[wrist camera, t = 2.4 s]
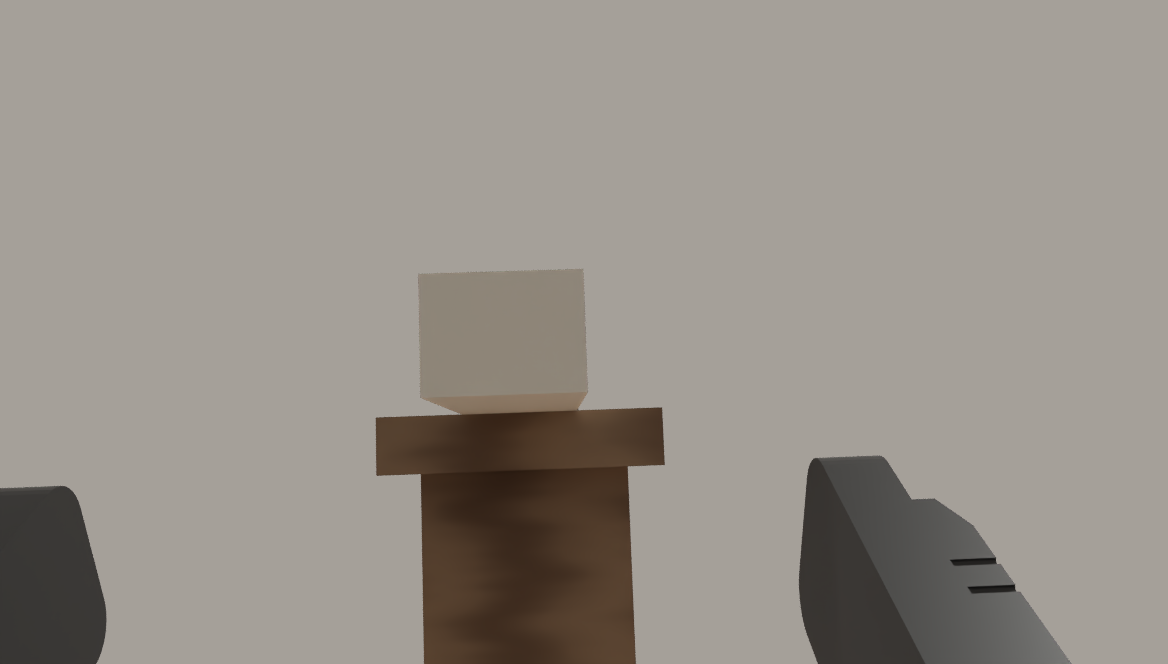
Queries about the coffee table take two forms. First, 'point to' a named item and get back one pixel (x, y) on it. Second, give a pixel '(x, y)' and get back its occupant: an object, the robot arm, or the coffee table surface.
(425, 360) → the white bar
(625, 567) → the wooden pedestal post
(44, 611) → the robot arm
